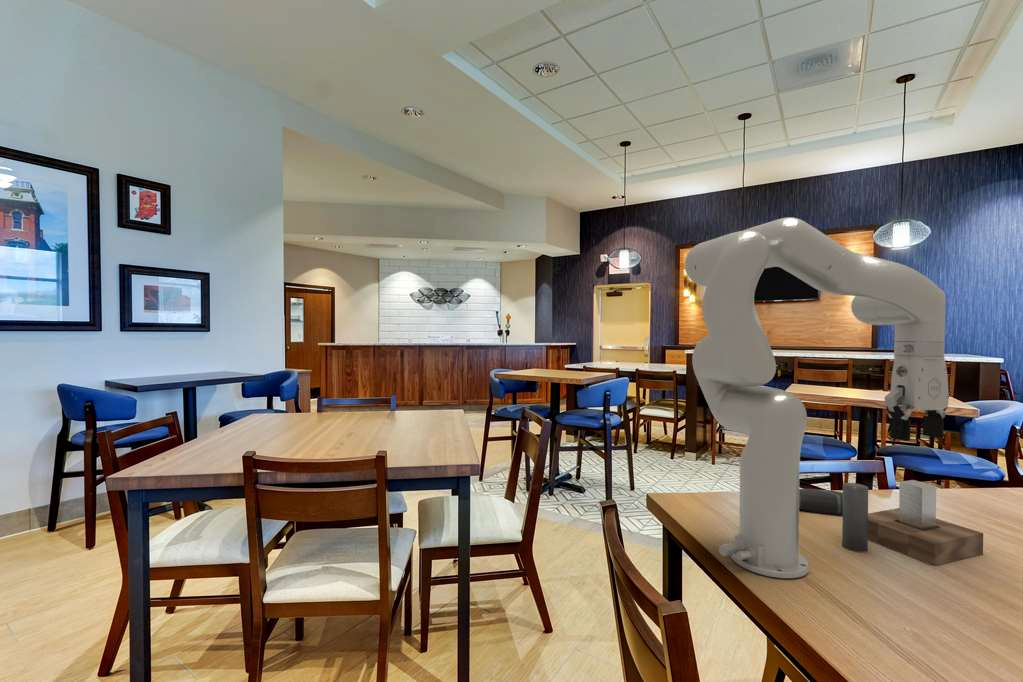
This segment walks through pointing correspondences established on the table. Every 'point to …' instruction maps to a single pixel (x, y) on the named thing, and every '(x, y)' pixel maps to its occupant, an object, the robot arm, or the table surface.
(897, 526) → the bore block
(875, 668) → the table surface
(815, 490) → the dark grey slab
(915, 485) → the square bit
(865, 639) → the table surface
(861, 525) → the round bit
